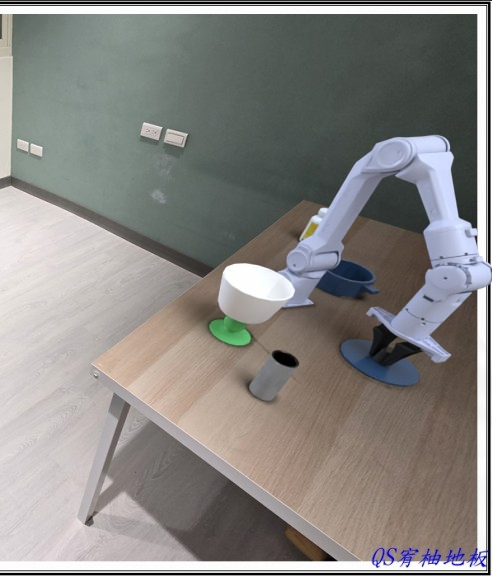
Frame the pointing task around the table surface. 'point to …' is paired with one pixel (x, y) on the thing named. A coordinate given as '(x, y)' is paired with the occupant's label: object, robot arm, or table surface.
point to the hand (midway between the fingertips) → (379, 359)
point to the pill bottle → (313, 224)
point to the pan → (348, 280)
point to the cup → (248, 300)
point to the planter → (273, 375)
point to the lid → (378, 363)
